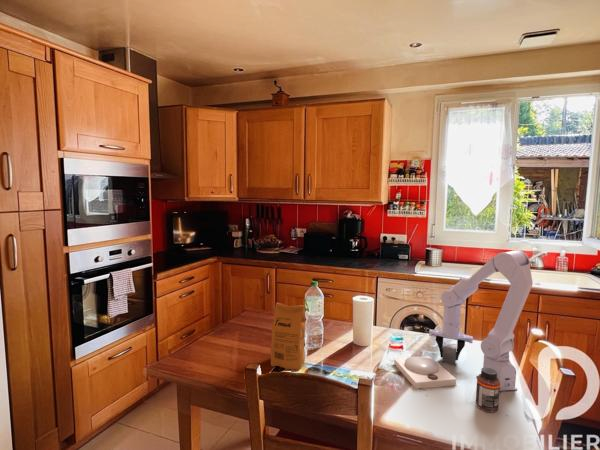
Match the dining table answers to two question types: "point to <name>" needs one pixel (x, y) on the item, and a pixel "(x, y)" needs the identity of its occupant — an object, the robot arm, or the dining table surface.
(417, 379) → the kitchen scale
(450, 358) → the steel spacer
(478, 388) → the supplement bottle
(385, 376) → the dining table surface
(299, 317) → the coffee package
